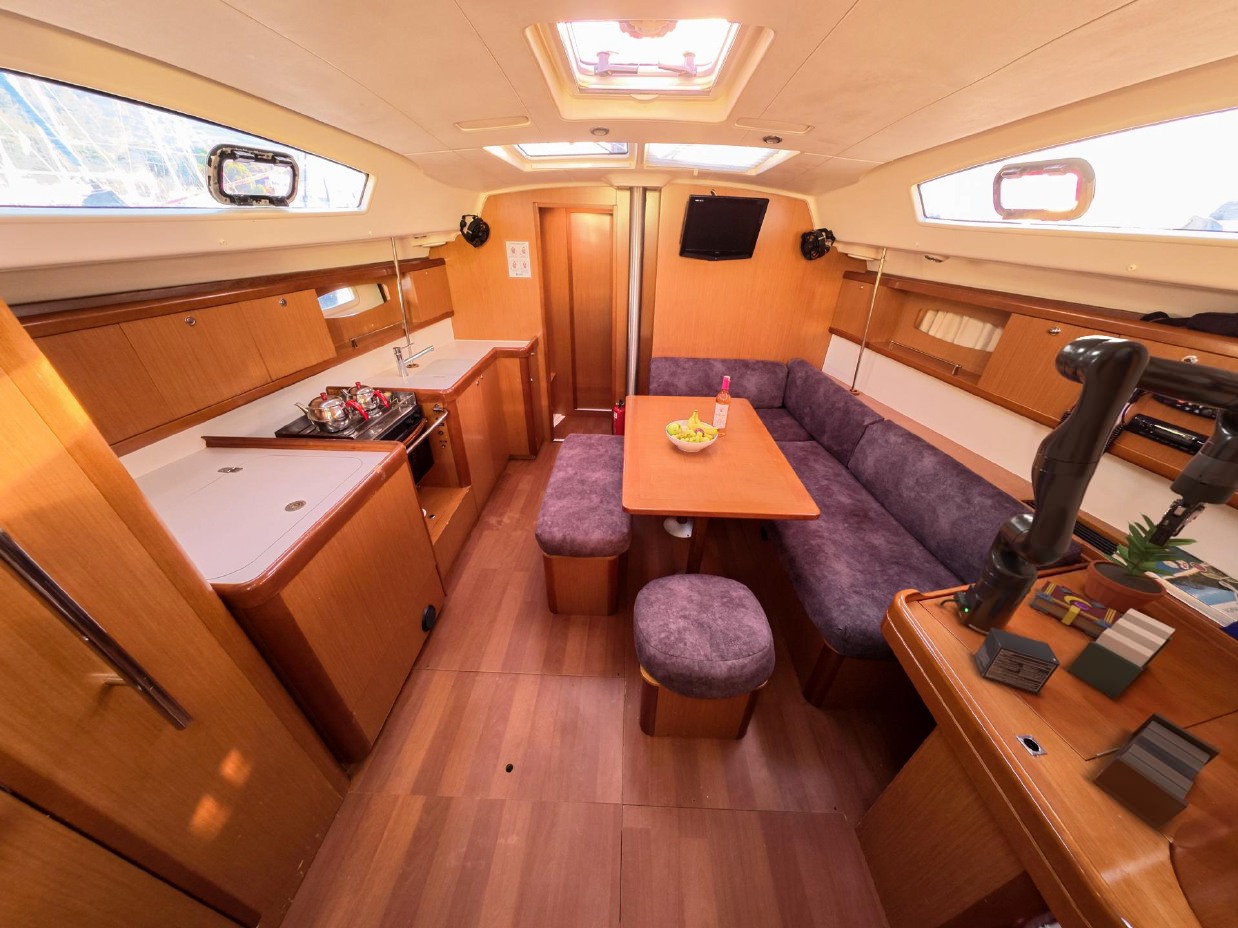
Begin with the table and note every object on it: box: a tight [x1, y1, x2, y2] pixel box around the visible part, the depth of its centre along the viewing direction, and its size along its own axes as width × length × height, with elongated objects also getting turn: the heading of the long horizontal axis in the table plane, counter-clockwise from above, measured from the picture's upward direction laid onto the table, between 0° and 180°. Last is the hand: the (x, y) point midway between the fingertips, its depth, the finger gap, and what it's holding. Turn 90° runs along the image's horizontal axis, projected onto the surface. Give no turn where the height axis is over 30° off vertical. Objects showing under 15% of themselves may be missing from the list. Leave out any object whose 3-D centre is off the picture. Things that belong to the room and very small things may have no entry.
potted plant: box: [1084, 513, 1198, 614], centre depth 111 cm, size 15×15×30 cm
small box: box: [973, 628, 1061, 696], centre depth 92 cm, size 11×6×10 cm, turn 65°
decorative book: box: [1029, 580, 1122, 640], centre depth 110 cm, size 11×16×5 cm
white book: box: [1111, 618, 1166, 667], centre depth 93 cm, size 3×7×12 cm, turn 26°
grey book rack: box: [1092, 711, 1222, 831], centre depth 74 cm, size 20×8×8 cm, turn 116°
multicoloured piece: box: [1066, 608, 1176, 700], centre depth 94 cm, size 20×8×13 cm, turn 116°
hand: (1161, 539), depth 90 cm, fingers open, 8 cm apart
